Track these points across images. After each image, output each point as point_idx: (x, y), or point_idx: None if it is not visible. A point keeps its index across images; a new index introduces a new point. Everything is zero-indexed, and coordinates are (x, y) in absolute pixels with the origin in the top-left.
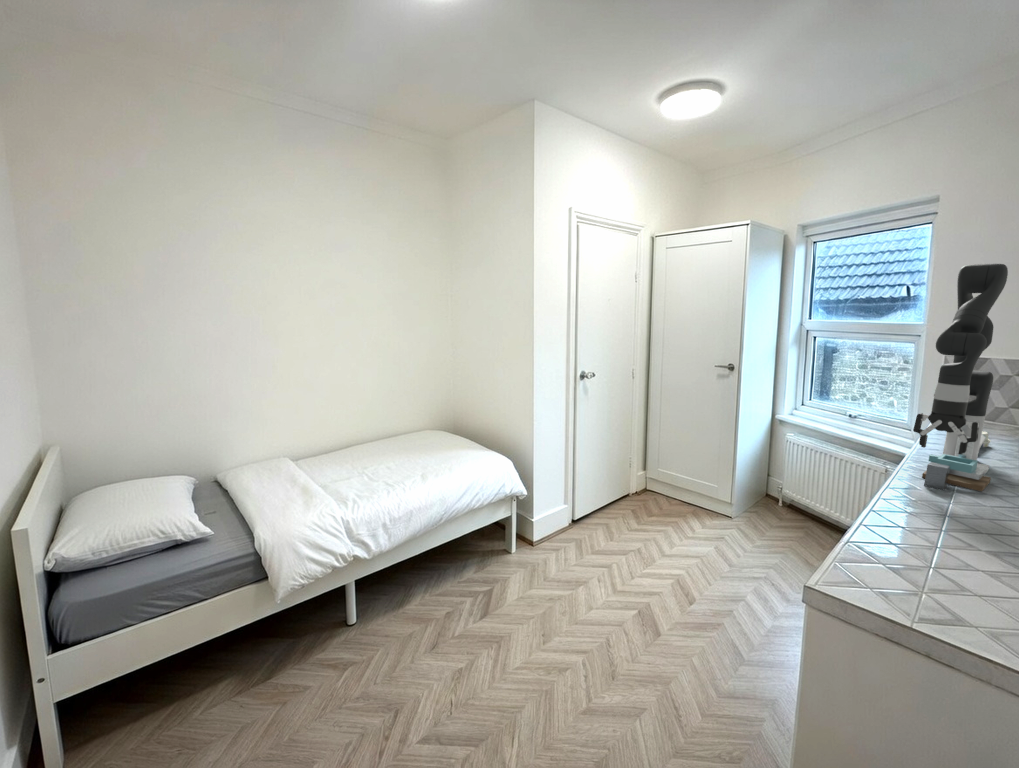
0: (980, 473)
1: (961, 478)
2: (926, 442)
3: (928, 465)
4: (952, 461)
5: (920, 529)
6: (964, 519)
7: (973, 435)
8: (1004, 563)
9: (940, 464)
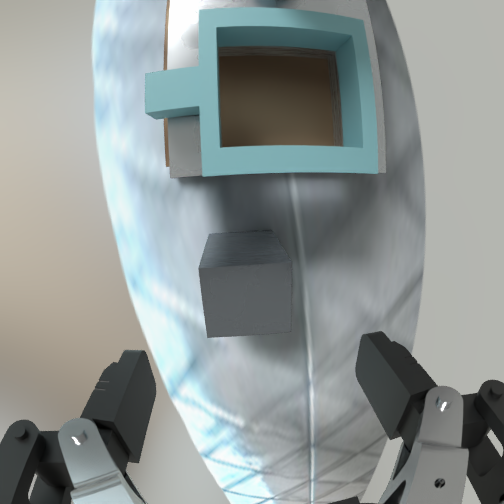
0: (381, 130)
1: (296, 95)
2: (135, 372)
3: (212, 334)
4: (286, 170)
5: (289, 491)
6: (337, 436)
7: (478, 468)
8: (365, 484)
9: (248, 276)
